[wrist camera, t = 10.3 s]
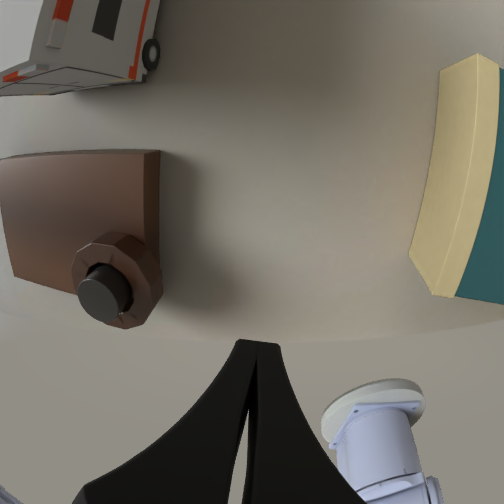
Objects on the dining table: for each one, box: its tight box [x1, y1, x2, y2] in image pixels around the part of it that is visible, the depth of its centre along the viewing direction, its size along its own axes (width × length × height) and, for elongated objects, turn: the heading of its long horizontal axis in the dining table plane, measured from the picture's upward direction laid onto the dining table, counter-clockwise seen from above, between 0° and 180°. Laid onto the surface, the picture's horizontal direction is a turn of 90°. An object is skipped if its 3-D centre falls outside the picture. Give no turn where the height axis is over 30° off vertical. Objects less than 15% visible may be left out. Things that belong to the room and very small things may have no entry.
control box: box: [0, 149, 163, 329], centre depth 16 cm, size 10×15×4 cm
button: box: [78, 265, 131, 322], centre depth 15 cm, size 3×3×2 cm
